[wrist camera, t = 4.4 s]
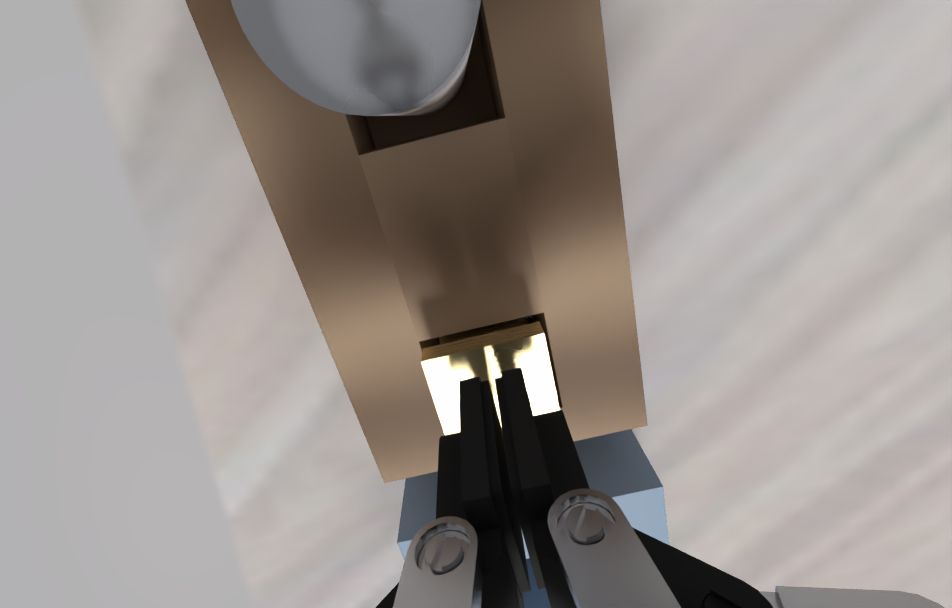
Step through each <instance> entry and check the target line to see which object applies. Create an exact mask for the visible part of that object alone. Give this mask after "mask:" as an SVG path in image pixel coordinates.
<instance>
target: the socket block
mask: <svg viewBox="0 0 952 608" xmlns="http://www.w3.org/2000/svg"><path fill="white" fill-rule="evenodd" d="M186 3H187V5H188V8H189V10H190V13H191V15H192V17H193V20H194V22H195V25H196V27H197V30H198V32H199V34H200V37H201V39H202V42H203V44H204V47H205V49H206V51H207V54H208V56H209V59H210V61H211V64H212V66H213V68H214V71H215V73H216V76H217V78H218V80H219V83H220V85H221V88H222V90H223V93H224V95H225V97H226V100H227V102H228V105H229V107H230V110H231V112H232V114H233V117H234V119H235V122H236V124H237V127H238V129H239V131H240V134H241V136H242V139H243V141H244V144H245V146H246V148H247V151H248V153H249V156H250V158H251V161H252V163H253V165H254V168H255V170H256V173H257V175H258V177H259V180H260V182H261V185H262V187H263V190H264V192H265V194H266V197H267V199H268V202H269V204H270V207H271V209H272V211H273V214H274V216H275V219H276V221H277V224H278V226H279V228H280V231H281V233H282V236H283V238H284V241H285V243H286V245H287V248H288V250H289V253H290V255H291V258H292V260H293V262H294V265H295V267H296V270H297V272H298V274H299V277H300V279H301V282H302V284H303V287H304V289H305V291H306V294H307V296H308V299H309V301H310V304H311V306H312V308H313V311H314V313H315V316H316V318H317V321H318V323H319V325H320V328H321V330H322V333H323V335H324V338H325V340H326V342H327V345H328V347H329V350H330V352H331V355H332V357H333V359H334V362H335V364H336V367H337V369H338V371H339V374H340V376H341V379H342V381H343V384H344V386H345V388H346V391H347V393H348V396H349V398H350V401H351V403H352V405H353V408H354V410H355V413H356V415H357V418H358V420H359V422H360V425H361V427H362V430H363V432H364V435H365V437H366V439H367V442H368V444H369V447H370V449H371V452H372V454H373V456H374V459H375V461H376V464H377V466H378V468H379V471H380V473H381V476H382V478H383V481H384V483H387V482H391V481H396V480H400V479H405V478H410V477H414V476H419V475H423V474H428V473H432V472H437V471H438V454H439V439H440V436H444V435H445V434H444V431H443V428H442V425H441V422H440V419H439V416H438V413H437V409H436V406H435V403H434V400H433V397H432V394H431V391H430V388H429V385H428V382H427V379H426V376H425V373H424V370H423V367H422V364H421V357H422V350H423V348H428V347H432V346H436V345H440V342H439V339H438V337H441V336H445V335H449V334H454V333H458V332H462V331H466V330H471V329H475V328H479V327H484V326H488V325H492V324H496V323H501V322H505V321H509V320H513V319H518V318H522V317H526V316H530V315H535V318H536V322H540V324H541V327H542V329H543V331H544V335H545V340H546V345H547V350H548V355H549V359H550V364H551V369H552V374H553V379H554V384H555V389H556V394H557V399H558V404H559V409H560V410H562V411H563V413H564V416H565V419H566V422H567V425H568V427H569V430H570V433H571V436H572V439H573V442H574V441H578V440H583V439H588V438H592V437H597V436H601V435H606V434H610V433H615V432H620V431H624V430H629V429H633V428H638V427H642V426H647V417H646V408H645V399H644V390H643V381H642V372H641V363H640V354H639V345H638V337H637V328H636V319H635V310H634V301H633V292H632V283H631V274H630V266H629V257H628V248H627V239H626V230H625V221H624V212H623V203H622V194H621V186H620V177H619V168H618V159H617V150H616V141H615V132H614V123H613V114H612V106H611V97H610V88H609V79H608V70H607V61H606V52H605V43H604V34H603V26H602V17H601V8H600V0H481V4H480V9H479V14H478V19H477V24H476V28H475V32H474V36H473V41H472V45H471V49H470V54H469V58H468V62H467V66H466V71H465V75H464V79H463V83H462V86H461V88H460V90H459V92H458V94H457V95H456V97H455V98H454V99H453V101H452V102H451V103H450V104H449V105H448V106H447V107H445V108H444V109H442V110H440V111H438V112H436V113H433V114H430V115H423V116H360V115H350V114H345V113H341V112H336V111H332V110H330V109H327V108H325V107H322V106H319V105H317V104H315V103H313V102H311V101H309V100H308V99H306V98H304V97H302V96H301V95H299V94H298V93H296V92H295V91H294V90H292V89H291V88H289V87H288V86H287V85H286V84H285V83H283V82H282V81H281V80H280V79H279V78H278V77H277V76H276V75H275V74H274V73H273V72H272V71H271V70H270V69H269V68H268V67H267V65H266V64H265V63H264V62H263V61H262V60H261V58H260V57H259V55H258V54H257V53H256V51H255V50H254V48H253V47H252V46H251V44H250V42H249V40H248V39H247V37H246V35H245V33H244V32H243V30H242V28H241V25H240V23H239V21H238V19H237V16H236V14H235V12H234V9H233V6H232V3H231V0H186Z"/></svg>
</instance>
